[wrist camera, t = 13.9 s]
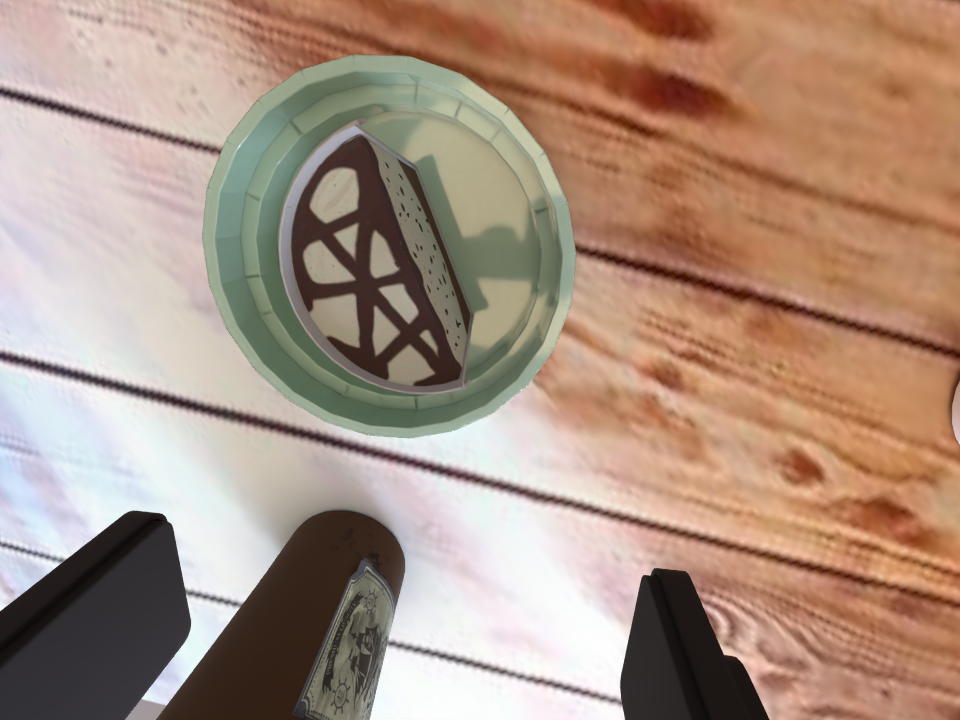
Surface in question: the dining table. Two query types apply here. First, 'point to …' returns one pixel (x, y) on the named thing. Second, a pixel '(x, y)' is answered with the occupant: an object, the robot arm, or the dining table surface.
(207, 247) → the bowl
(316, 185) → the food container
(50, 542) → the dining table surface
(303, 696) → the olive oil
